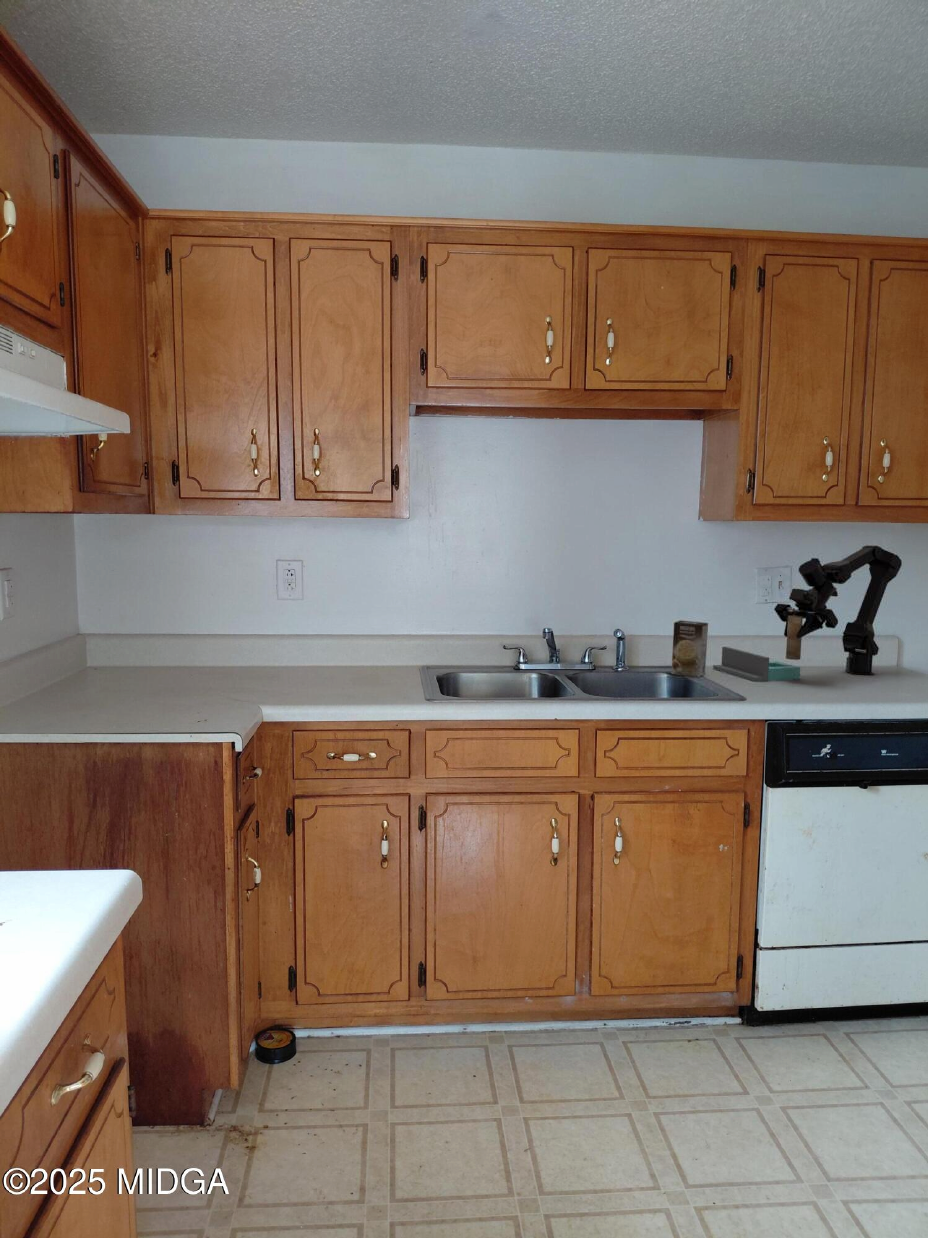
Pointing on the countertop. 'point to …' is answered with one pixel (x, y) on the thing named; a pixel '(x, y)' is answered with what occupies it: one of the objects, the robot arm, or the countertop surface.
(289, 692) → the countertop surface
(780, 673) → the socket block
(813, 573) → the robot arm
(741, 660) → the backstop wall
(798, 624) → the dowel
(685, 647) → the coffee box
